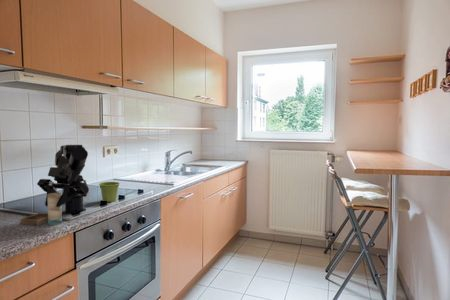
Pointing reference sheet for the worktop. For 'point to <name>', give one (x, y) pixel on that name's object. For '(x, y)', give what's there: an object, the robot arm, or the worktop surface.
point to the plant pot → (109, 191)
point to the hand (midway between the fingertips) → (51, 206)
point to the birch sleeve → (54, 209)
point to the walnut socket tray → (35, 219)
